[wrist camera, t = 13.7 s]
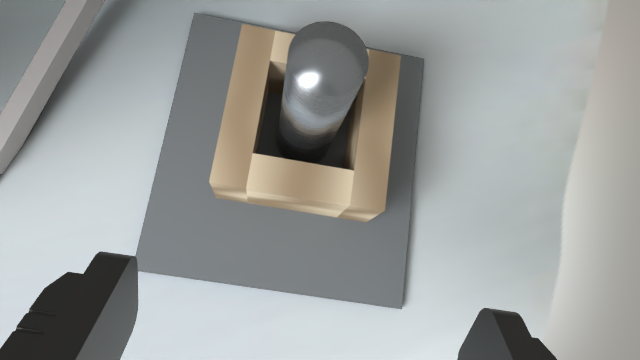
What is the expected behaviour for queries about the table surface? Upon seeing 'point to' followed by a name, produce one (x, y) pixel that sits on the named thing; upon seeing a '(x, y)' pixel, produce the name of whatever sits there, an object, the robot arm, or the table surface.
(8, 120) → the caliper
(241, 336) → the table surface
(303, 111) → the ball
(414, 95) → the mat
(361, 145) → the wooden square frame
